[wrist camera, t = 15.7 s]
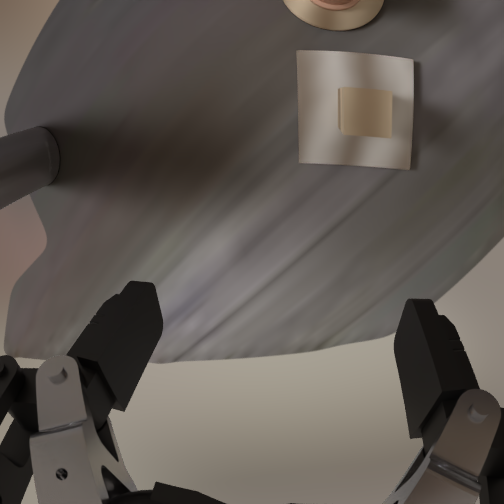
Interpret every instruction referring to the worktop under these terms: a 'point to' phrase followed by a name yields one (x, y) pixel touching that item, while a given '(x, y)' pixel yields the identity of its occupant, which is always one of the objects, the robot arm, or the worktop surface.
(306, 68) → the white display stand
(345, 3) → the lidded jar
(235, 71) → the worktop surface
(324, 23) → the mat
